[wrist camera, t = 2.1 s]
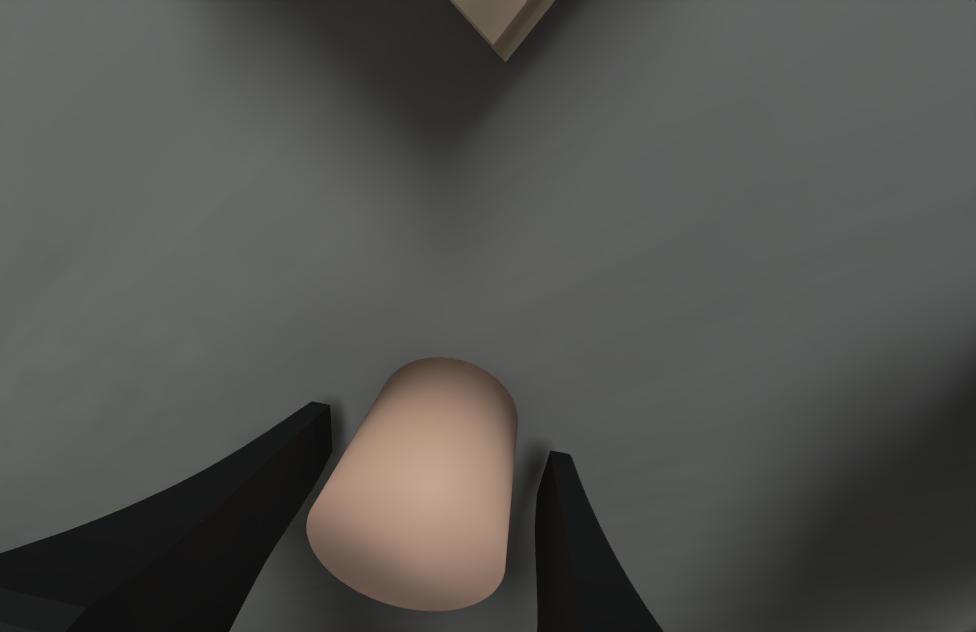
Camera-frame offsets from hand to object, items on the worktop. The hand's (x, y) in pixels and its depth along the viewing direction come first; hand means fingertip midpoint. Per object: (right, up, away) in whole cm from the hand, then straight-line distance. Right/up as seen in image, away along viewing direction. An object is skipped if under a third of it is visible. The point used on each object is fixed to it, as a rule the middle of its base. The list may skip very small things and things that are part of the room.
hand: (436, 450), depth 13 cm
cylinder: (0, +1, +1) cm, 2 cm away
